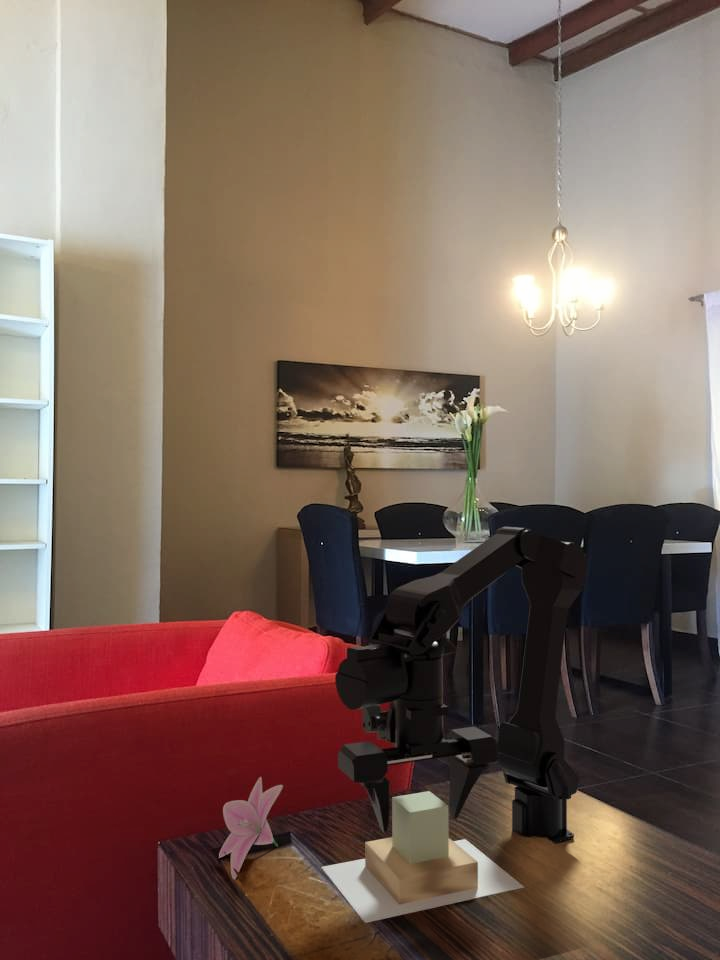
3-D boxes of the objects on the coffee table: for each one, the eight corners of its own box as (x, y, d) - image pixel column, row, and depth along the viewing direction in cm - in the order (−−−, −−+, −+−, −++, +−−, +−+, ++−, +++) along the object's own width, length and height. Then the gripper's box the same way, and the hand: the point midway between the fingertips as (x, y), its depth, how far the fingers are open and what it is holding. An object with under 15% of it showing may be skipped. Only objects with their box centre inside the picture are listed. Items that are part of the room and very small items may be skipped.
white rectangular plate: (465, 845, 114) (465, 839, 114) (524, 893, 101) (524, 886, 101) (321, 873, 107) (321, 866, 107) (365, 929, 94) (365, 922, 94)
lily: (228, 842, 118) (197, 790, 115) (308, 808, 118) (280, 755, 115) (229, 912, 107) (194, 857, 103) (317, 874, 107) (286, 818, 103)
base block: (438, 852, 110) (438, 828, 110) (477, 887, 101) (477, 861, 101) (365, 866, 107) (365, 842, 107) (399, 904, 97) (399, 877, 97)
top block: (429, 839, 107) (429, 791, 107) (448, 856, 102) (448, 805, 102) (392, 846, 105) (392, 797, 105) (410, 864, 101) (409, 812, 101)
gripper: (455, 671, 114) (456, 789, 115) (321, 686, 107) (322, 812, 108) (500, 692, 104) (500, 821, 104) (355, 709, 97) (356, 849, 97)
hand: (419, 824), depth 104 cm, fingers open, 9 cm apart
